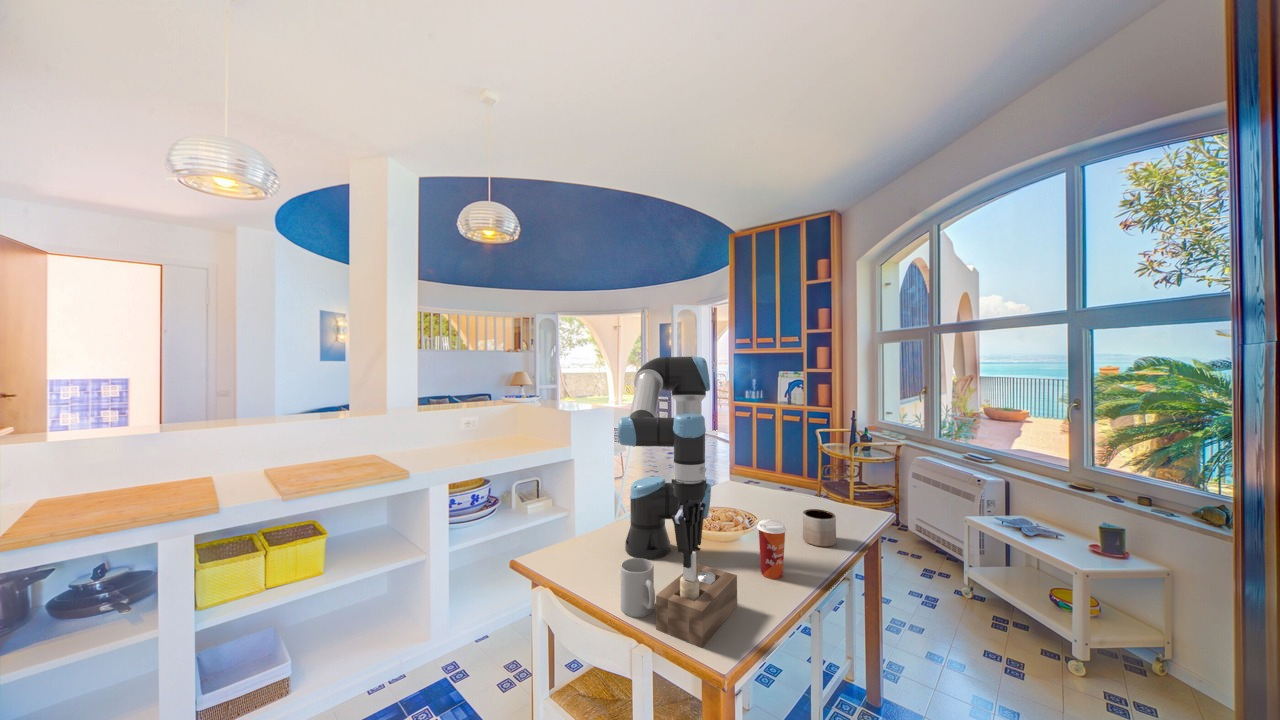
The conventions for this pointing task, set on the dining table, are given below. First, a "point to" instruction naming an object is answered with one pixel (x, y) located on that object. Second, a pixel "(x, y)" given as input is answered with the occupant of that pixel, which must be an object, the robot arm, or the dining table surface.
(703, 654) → the dining table surface
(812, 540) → the planter
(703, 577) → the aluminium peg
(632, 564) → the mug
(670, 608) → the walnut socket block
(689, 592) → the beech peg
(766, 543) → the coffee cup
